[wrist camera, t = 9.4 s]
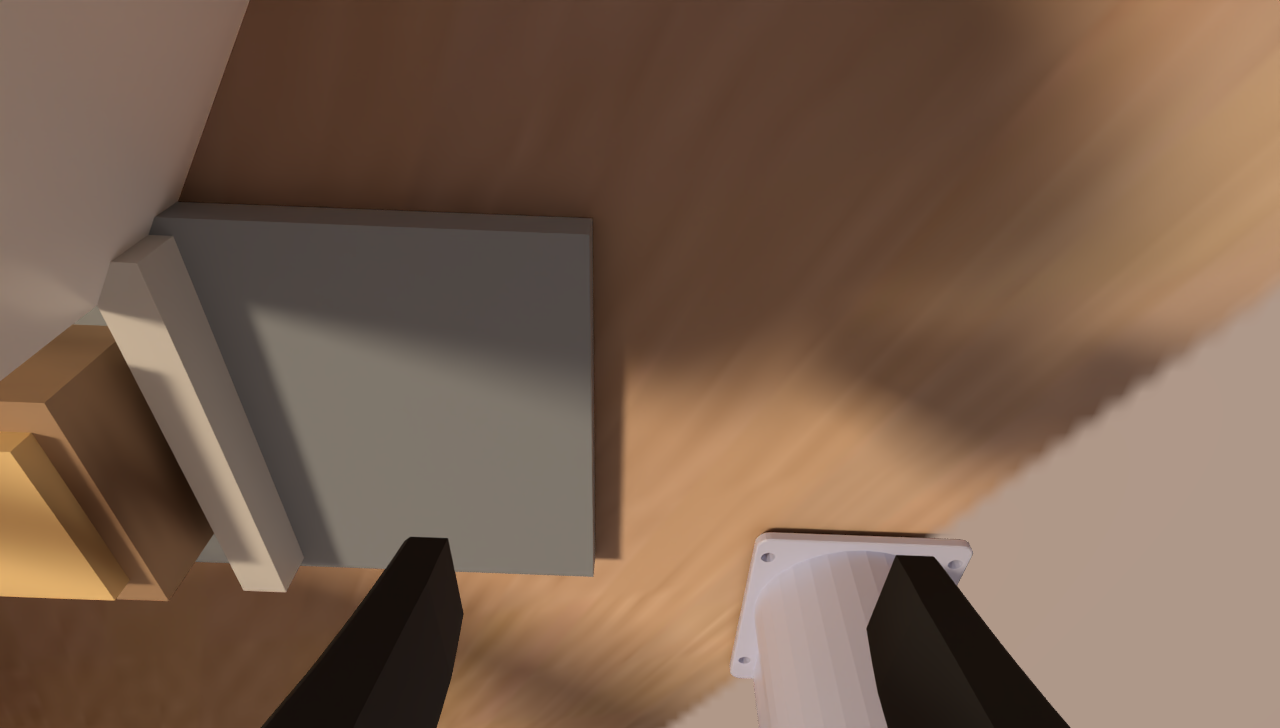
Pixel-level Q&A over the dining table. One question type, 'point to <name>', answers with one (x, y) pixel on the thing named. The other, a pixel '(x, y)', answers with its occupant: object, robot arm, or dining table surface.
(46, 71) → the gable box
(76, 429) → the wooden box
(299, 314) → the board
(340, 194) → the dining table surface
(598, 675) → the dining table surface
